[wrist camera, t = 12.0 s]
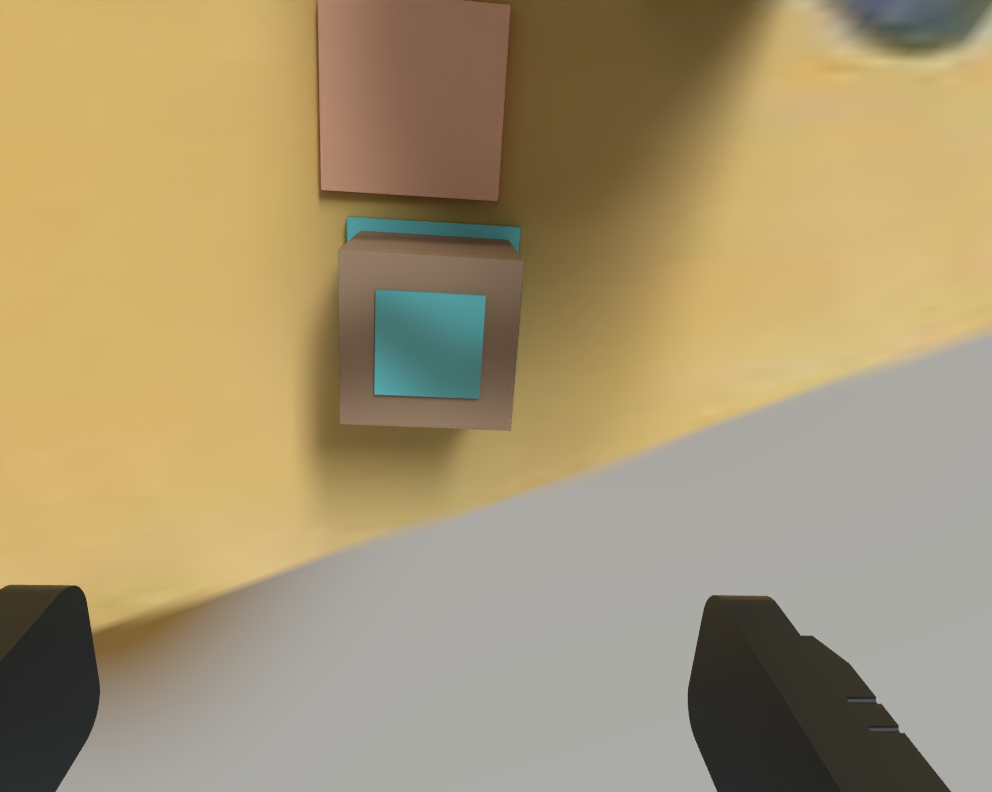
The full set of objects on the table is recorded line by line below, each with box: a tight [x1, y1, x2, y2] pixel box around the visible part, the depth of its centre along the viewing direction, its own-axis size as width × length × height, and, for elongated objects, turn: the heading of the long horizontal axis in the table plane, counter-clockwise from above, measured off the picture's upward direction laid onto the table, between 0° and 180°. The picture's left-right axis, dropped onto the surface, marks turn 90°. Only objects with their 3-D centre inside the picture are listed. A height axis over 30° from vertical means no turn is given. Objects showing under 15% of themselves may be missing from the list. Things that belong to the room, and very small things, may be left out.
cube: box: [338, 230, 524, 431], centre depth 26 cm, size 6×6×6 cm
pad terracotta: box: [318, 0, 511, 201], centre depth 26 cm, size 7×7×1 cm
